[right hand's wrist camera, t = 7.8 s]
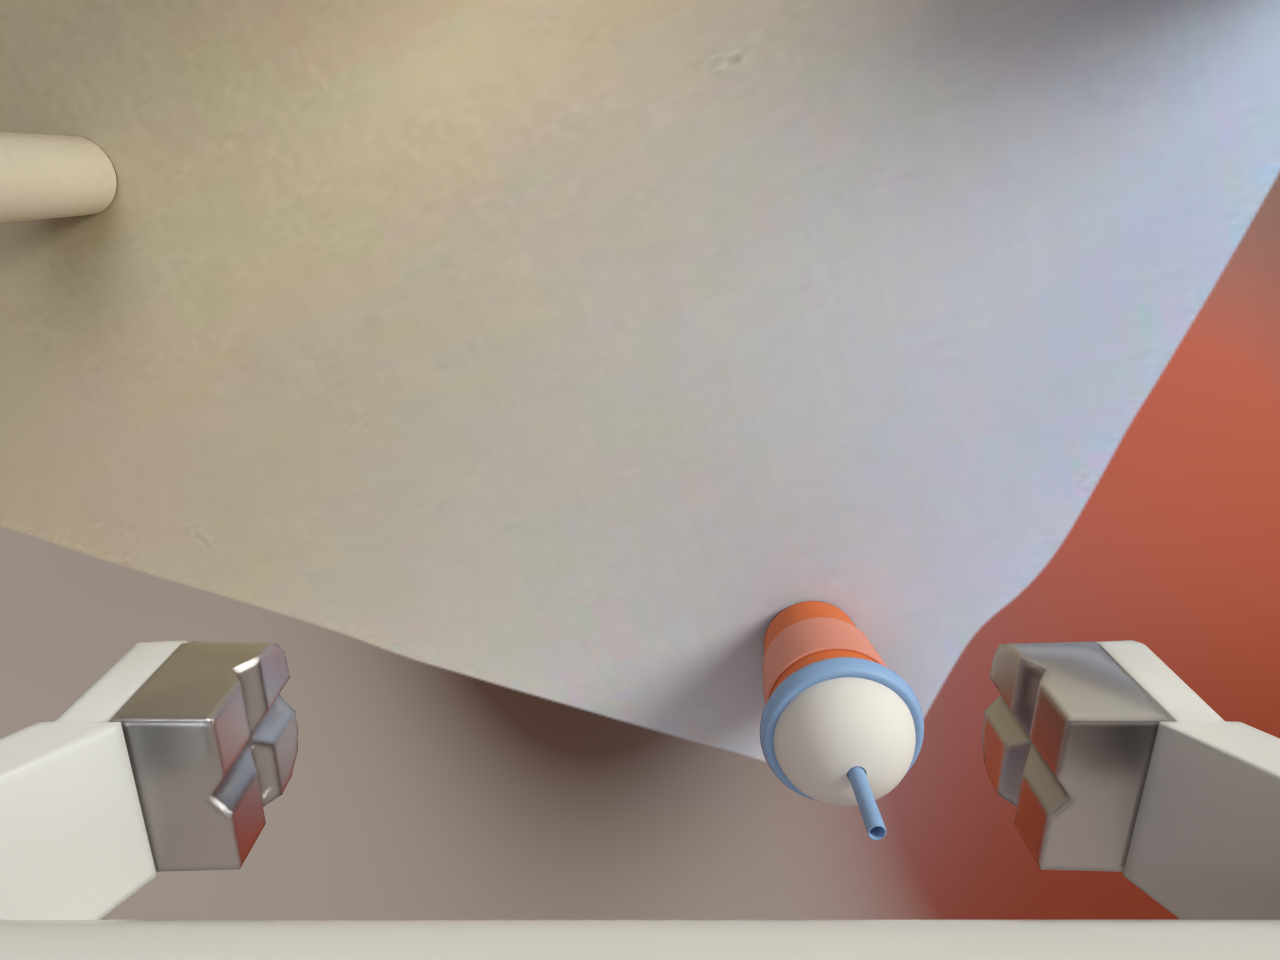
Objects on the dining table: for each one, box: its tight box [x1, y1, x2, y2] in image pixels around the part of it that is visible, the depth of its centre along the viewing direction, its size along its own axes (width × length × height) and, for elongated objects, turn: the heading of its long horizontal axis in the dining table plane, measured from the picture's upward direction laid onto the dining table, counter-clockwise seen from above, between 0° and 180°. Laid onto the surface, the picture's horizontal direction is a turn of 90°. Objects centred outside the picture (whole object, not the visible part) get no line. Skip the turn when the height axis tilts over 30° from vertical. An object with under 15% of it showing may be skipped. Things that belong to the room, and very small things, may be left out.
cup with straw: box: [760, 601, 924, 840], centre depth 51 cm, size 9×9×18 cm
